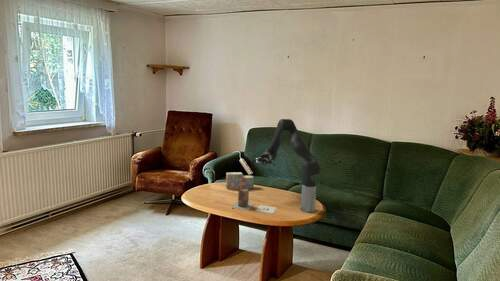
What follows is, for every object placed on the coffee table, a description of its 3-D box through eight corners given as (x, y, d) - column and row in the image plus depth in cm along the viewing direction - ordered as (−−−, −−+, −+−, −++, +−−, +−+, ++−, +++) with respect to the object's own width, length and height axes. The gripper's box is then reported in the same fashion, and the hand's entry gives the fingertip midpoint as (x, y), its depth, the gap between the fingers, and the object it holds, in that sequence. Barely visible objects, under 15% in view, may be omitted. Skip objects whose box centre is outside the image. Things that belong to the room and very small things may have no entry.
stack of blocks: (251, 186, 300) (252, 171, 298) (253, 188, 294) (254, 173, 292) (225, 187, 295) (226, 172, 293) (226, 189, 289) (227, 174, 287)
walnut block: (248, 205, 252) (248, 189, 250) (245, 207, 246) (246, 191, 245) (240, 203, 253) (241, 188, 251) (238, 206, 248) (238, 190, 246)
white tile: (276, 208, 250) (276, 207, 249) (272, 214, 238) (272, 213, 238) (259, 206, 253) (259, 205, 253) (254, 211, 241) (255, 210, 241)
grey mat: (254, 205, 254) (254, 204, 254) (249, 210, 242) (249, 209, 242) (237, 203, 257) (237, 202, 257) (231, 208, 246) (231, 207, 246)
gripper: (256, 152, 277) (250, 156, 261) (275, 154, 273) (270, 158, 258) (255, 162, 278) (249, 166, 263) (274, 164, 274) (269, 168, 259)
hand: (259, 162), depth 260 cm, fingers open, 8 cm apart
